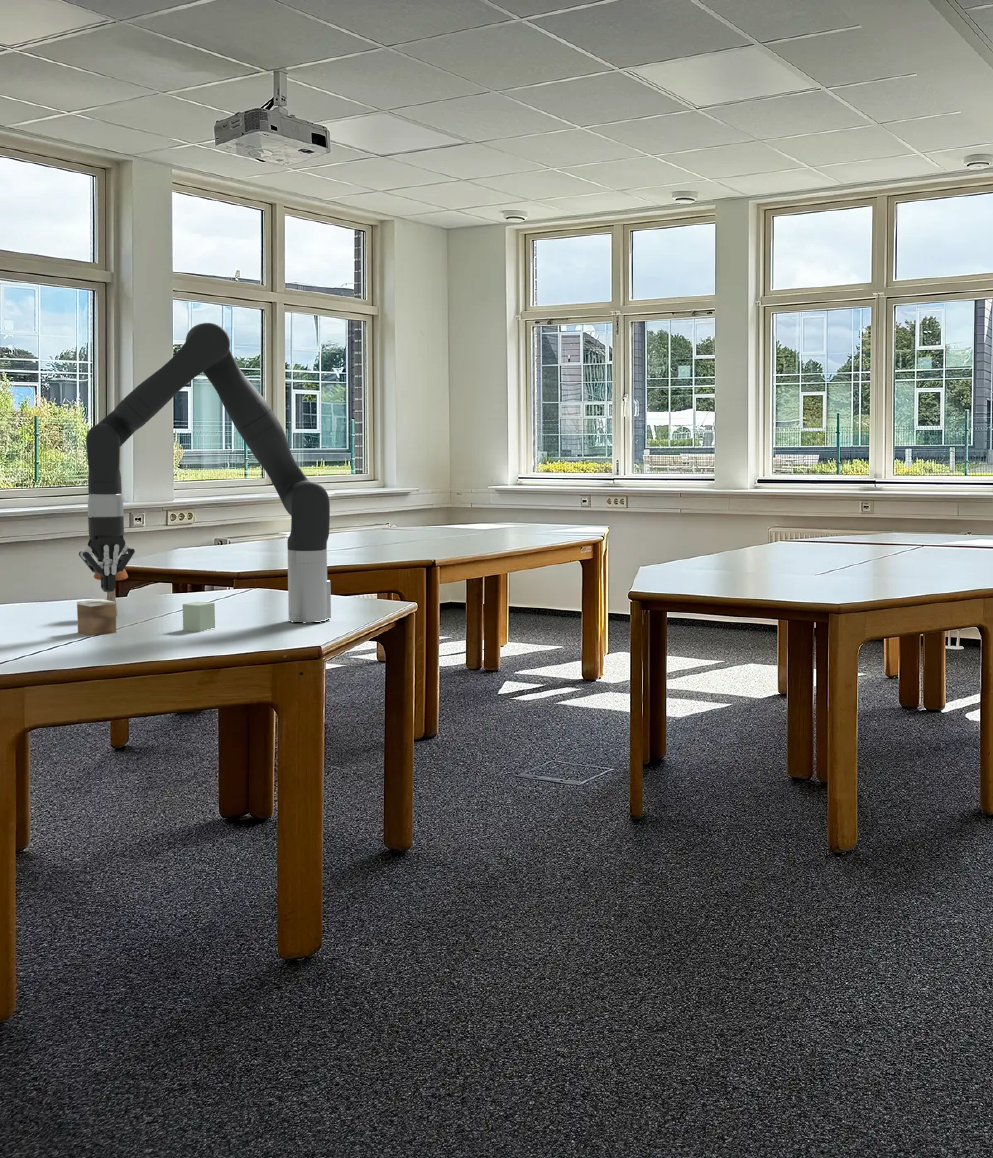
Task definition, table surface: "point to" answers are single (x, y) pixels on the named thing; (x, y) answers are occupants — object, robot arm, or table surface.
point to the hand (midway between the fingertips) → (108, 591)
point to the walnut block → (96, 617)
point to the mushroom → (111, 595)
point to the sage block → (198, 616)
